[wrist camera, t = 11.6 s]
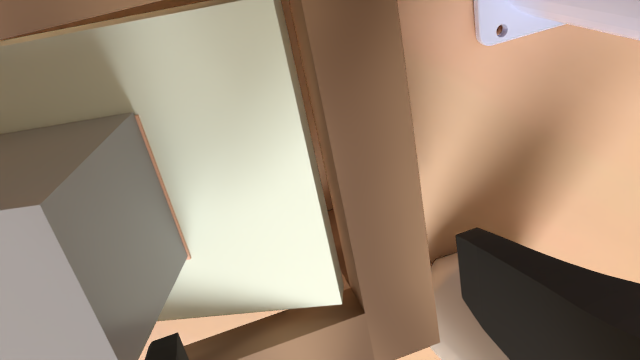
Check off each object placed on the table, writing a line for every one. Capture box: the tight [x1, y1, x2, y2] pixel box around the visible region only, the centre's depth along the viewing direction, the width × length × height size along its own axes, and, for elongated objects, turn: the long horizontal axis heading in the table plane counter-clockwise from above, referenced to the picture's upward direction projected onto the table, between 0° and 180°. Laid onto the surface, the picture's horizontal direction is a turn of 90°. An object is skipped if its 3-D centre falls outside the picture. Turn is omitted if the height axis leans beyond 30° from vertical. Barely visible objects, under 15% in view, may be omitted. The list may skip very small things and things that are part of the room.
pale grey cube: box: [0, 112, 188, 360], centre depth 15 cm, size 5×5×5 cm
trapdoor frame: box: [0, 0, 440, 360], centre depth 18 cm, size 16×16×7 cm
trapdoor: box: [0, 0, 344, 321], centre depth 17 cm, size 10×10×1 cm
